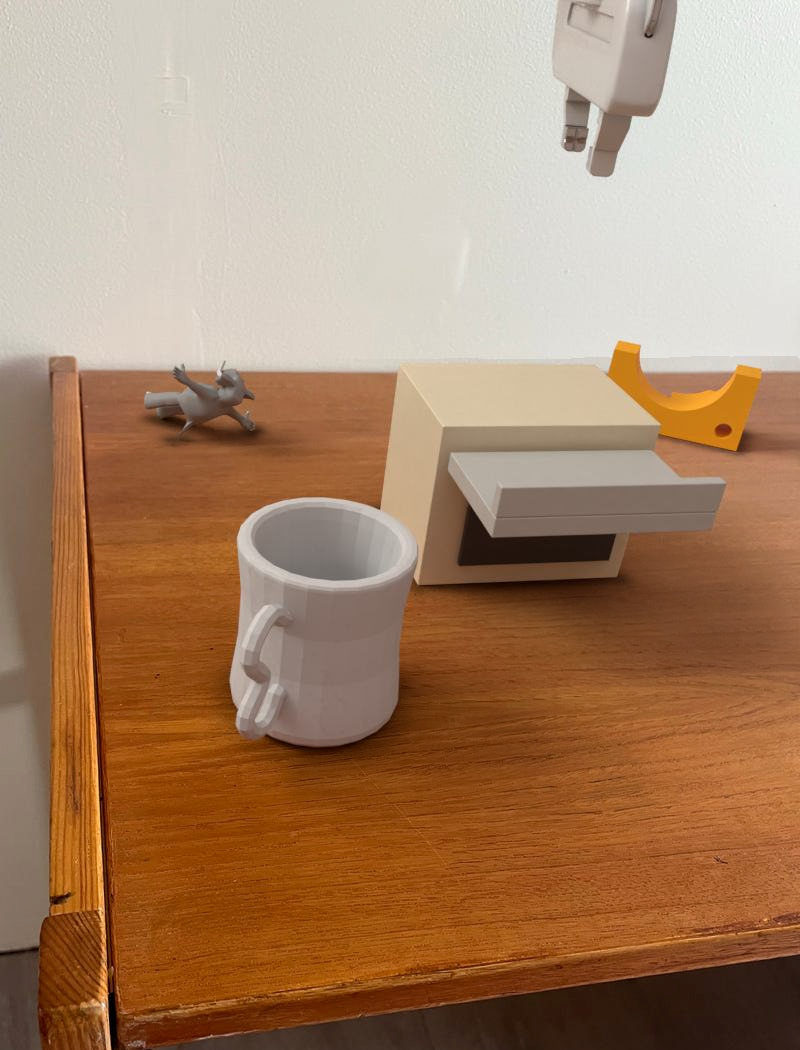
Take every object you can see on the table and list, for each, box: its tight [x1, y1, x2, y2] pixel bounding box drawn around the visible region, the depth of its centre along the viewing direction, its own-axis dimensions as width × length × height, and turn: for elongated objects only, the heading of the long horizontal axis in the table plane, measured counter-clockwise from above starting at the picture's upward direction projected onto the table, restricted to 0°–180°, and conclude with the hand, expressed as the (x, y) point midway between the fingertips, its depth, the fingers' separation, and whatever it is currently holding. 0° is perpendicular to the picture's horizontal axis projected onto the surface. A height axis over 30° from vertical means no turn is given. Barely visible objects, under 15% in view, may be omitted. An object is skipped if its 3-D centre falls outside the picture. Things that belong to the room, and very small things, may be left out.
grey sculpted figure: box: [143, 360, 256, 440], centre depth 81 cm, size 10×6×9 cm
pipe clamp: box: [607, 340, 763, 452], centre depth 90 cm, size 12×4×6 cm, turn 68°
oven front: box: [379, 362, 728, 586], centre depth 65 cm, size 14×18×11 cm
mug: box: [229, 496, 419, 748], centre depth 52 cm, size 12×9×10 cm
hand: (584, 162), depth 81 cm, fingers open, 8 cm apart
